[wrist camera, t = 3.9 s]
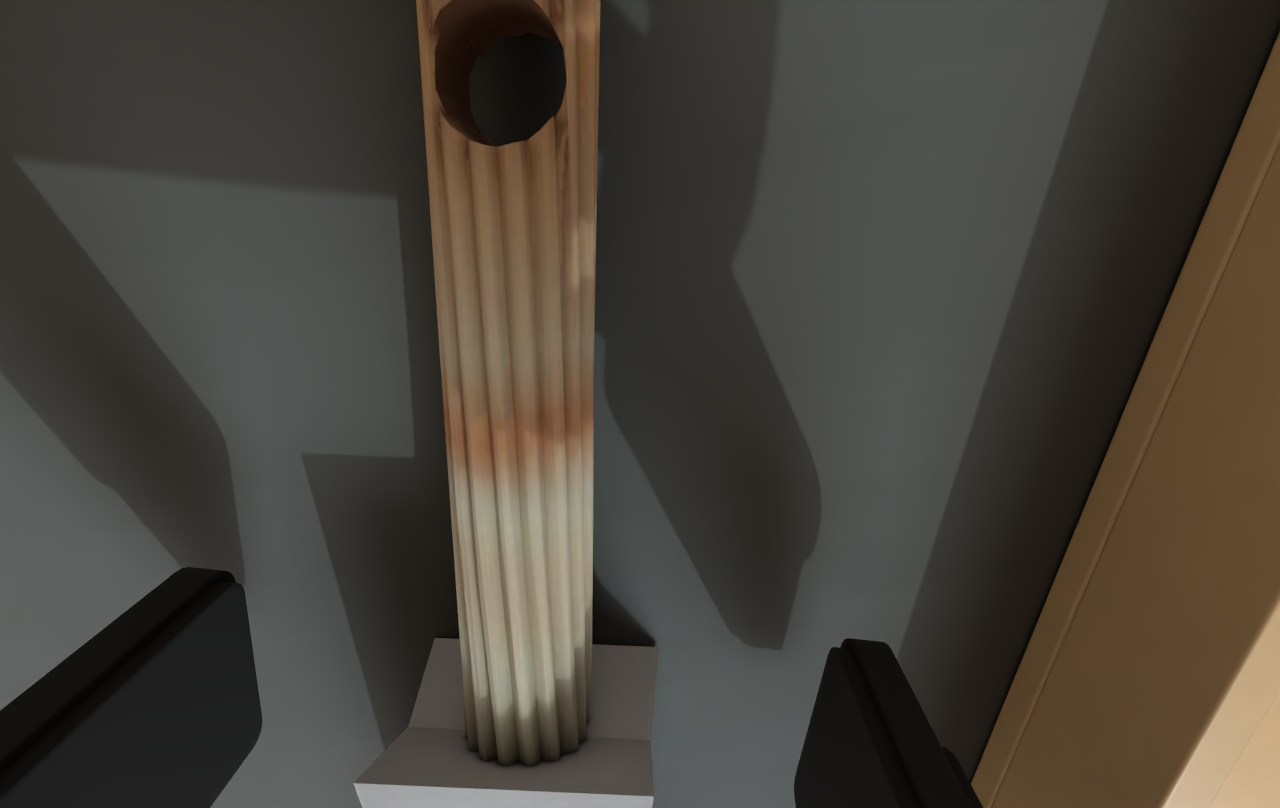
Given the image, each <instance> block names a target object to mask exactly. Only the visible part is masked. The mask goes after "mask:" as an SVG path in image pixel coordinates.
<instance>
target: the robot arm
mask: <svg viewBox="0 0 1280 808" xmlns="http://www.w3.org/2000/svg"><path fill="white" fill-rule="evenodd" d="M261 727H262V714H261V707H260V700H259V692H258V685H257V678H256V671H255V664H254V656H253V649H252V642H251V635H250V627H249V620H248V613H247V606H246V599H245V591H244V588H243V586H242V585H241V584H239V583H236V581H235V578H234V576H233V575H232V574H231V573H230V572H227V571H221V570H211V569H202V568H193V567H187V568H182V569H180V570H179V571H177V572H175V573H174V574H173V575H171V576H170V577H169V578H168V579H166V580H165V581H164V582H163V583H161V584H160V585H159V586H158V587H156V588H155V589H154V590H152V591H151V592H150V593H149V594H147V595H146V596H145V597H144V598H142V599H141V600H140V601H139V602H137V603H136V604H135V605H133V606H132V607H131V608H130V609H128V610H127V611H126V612H125V613H123V614H122V615H121V616H120V617H118V618H117V619H116V620H114V621H113V622H112V623H111V624H109V625H108V626H107V627H106V628H104V629H103V630H102V631H101V632H99V633H98V634H97V635H95V636H94V637H93V638H92V639H90V640H89V641H88V642H87V643H85V644H84V645H83V646H82V647H80V648H79V649H78V650H76V651H75V652H74V653H73V654H71V655H70V656H69V657H68V658H66V659H65V660H64V661H63V662H61V663H60V664H59V665H58V666H56V667H55V668H54V669H52V670H51V671H50V672H49V673H47V674H46V675H45V676H44V677H42V678H41V679H40V680H39V681H37V682H36V683H35V684H33V685H32V686H31V687H30V688H28V689H27V690H26V691H25V692H23V693H22V694H21V695H20V696H18V697H17V698H16V699H14V700H13V701H12V702H11V703H9V704H8V705H7V706H6V707H4V708H3V709H2V710H1V711H0V808H210V807H211V805H212V804H213V803H214V801H215V800H216V799H217V797H218V796H219V794H220V793H221V792H222V790H223V789H224V788H225V786H226V785H227V783H228V782H229V781H230V779H231V778H232V776H233V775H234V774H235V772H236V771H237V770H238V768H239V767H240V765H241V764H242V763H243V761H244V760H245V759H246V757H247V756H248V754H249V753H250V752H251V750H252V749H253V747H254V746H255V744H256V742H257V740H258V738H259V735H260V732H261ZM794 795H795V803H796V808H983V806H982V804H981V802H980V800H979V799H978V797H977V795H976V793H975V791H974V789H973V787H972V785H971V783H970V782H969V780H968V778H967V776H966V774H965V772H964V770H963V768H962V767H961V765H960V763H959V762H958V760H957V759H956V757H955V756H954V754H953V753H951V752H950V751H949V750H948V749H947V748H945V747H941V745H940V743H939V741H938V740H937V738H936V736H935V734H934V732H933V730H932V728H931V726H930V724H929V722H928V720H927V718H926V716H925V714H924V712H923V710H922V708H921V706H920V704H919V702H918V701H917V699H916V697H915V695H914V693H913V691H912V689H911V687H910V685H909V683H908V681H907V679H906V677H905V675H904V673H903V671H902V669H901V667H900V665H899V663H898V661H897V660H896V658H895V656H894V654H893V652H892V650H891V648H890V647H889V645H888V644H886V643H884V642H877V641H868V640H859V639H849V638H848V639H845V640H844V641H843V642H842V645H841V647H840V648H837V647H833V648H831V650H830V651H829V654H828V657H827V661H826V665H825V669H824V672H823V676H822V680H821V683H820V687H819V691H818V694H817V698H816V702H815V705H814V709H813V713H812V716H811V720H810V724H809V727H808V731H807V735H806V739H805V742H804V746H803V750H802V753H801V757H800V761H799V764H798V768H797V772H796V776H795V783H794Z"/></svg>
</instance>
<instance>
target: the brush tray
mask: <svg viewBox="0 0 1280 808" xmlns="http://www.w3.org/2000/svg"><path fill="white" fill-rule="evenodd" d="M971 785H972V787H973V789H974V791H975V793H976V795H977V797H978V799H979V800H980V802H981V804H982V806H983V808H1280V31H1279V34H1278V36H1277V39H1276V41H1275V44H1274V46H1273V48H1272V51H1271V53H1270V56H1269V58H1268V61H1267V63H1266V66H1265V68H1264V70H1263V73H1262V75H1261V78H1260V80H1259V83H1258V85H1257V87H1256V90H1255V92H1254V95H1253V97H1252V100H1251V102H1250V105H1249V107H1248V109H1247V112H1246V114H1245V117H1244V119H1243V122H1242V124H1241V126H1240V129H1239V131H1238V134H1237V136H1236V139H1235V141H1234V144H1233V146H1232V148H1231V151H1230V153H1229V156H1228V158H1227V161H1226V163H1225V166H1224V168H1223V170H1222V173H1221V175H1220V178H1219V180H1218V183H1217V185H1216V187H1215V190H1214V192H1213V195H1212V197H1211V200H1210V202H1209V205H1208V207H1207V209H1206V212H1205V214H1204V217H1203V219H1202V222H1201V224H1200V226H1199V229H1198V231H1197V234H1196V236H1195V239H1194V241H1193V244H1192V246H1191V248H1190V251H1189V253H1188V256H1187V258H1186V261H1185V263H1184V265H1183V268H1182V270H1181V273H1180V275H1179V278H1178V280H1177V283H1176V285H1175V287H1174V290H1173V292H1172V295H1171V297H1170V300H1169V302H1168V304H1167V307H1166V309H1165V312H1164V314H1163V317H1162V319H1161V322H1160V324H1159V326H1158V329H1157V331H1156V334H1155V336H1154V339H1153V341H1152V343H1151V346H1150V348H1149V351H1148V353H1147V356H1146V358H1145V361H1144V363H1143V365H1142V368H1141V370H1140V373H1139V375H1138V378H1137V380H1136V382H1135V385H1134V387H1133V390H1132V392H1131V395H1130V397H1129V400H1128V402H1127V404H1126V407H1125V409H1124V412H1123V414H1122V417H1121V419H1120V421H1119V424H1118V426H1117V429H1116V431H1115V434H1114V436H1113V439H1112V441H1111V443H1110V446H1109V448H1108V451H1107V453H1106V456H1105V458H1104V460H1103V463H1102V465H1101V468H1100V470H1099V473H1098V475H1097V478H1096V480H1095V482H1094V485H1093V487H1092V490H1091V492H1090V495H1089V497H1088V500H1087V502H1086V504H1085V507H1084V509H1083V512H1082V514H1081V517H1080V519H1079V521H1078V524H1077V526H1076V529H1075V531H1074V534H1073V536H1072V539H1071V541H1070V543H1069V546H1068V548H1067V551H1066V553H1065V556H1064V558H1063V560H1062V563H1061V565H1060V568H1059V570H1058V573H1057V575H1056V578H1055V580H1054V582H1053V585H1052V587H1051V590H1050V592H1049V595H1048V597H1047V599H1046V602H1045V604H1044V607H1043V609H1042V612H1041V614H1040V617H1039V619H1038V621H1037V624H1036V626H1035V629H1034V631H1033V634H1032V636H1031V638H1030V641H1029V643H1028V646H1027V648H1026V651H1025V653H1024V656H1023V658H1022V660H1021V663H1020V665H1019V668H1018V670H1017V673H1016V675H1015V677H1014V680H1013V682H1012V685H1011V687H1010V690H1009V692H1008V695H1007V697H1006V699H1005V702H1004V704H1003V707H1002V709H1001V712H1000V714H999V716H998V719H997V721H996V724H995V726H994V729H993V731H992V734H991V736H990V738H989V741H988V743H987V746H986V748H985V751H984V753H983V755H982V758H981V760H980V763H979V765H978V768H977V770H976V773H975V775H974V777H973V780H972V782H971Z"/></svg>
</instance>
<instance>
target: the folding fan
mask: <svg viewBox="0 0 1280 808" xmlns="http://www.w3.org/2000/svg"><path fill="white" fill-rule="evenodd" d="M416 5H417V20H418V35H419V50H420V65H421V80H422V95H423V110H424V125H425V140H426V155H427V170H428V185H429V200H430V215H431V231H432V246H433V261H434V276H435V291H436V306H437V321H438V335H439V349H440V364H441V378H442V392H443V407H444V421H445V435H446V450H447V464H448V478H449V493H450V507H451V521H452V536H453V550H454V564H455V579H456V593H457V607H458V622H459V635H460V639H448V638H435V639H434V642H433V646H432V649H431V652H430V656H429V659H428V662H427V666H426V669H425V672H424V675H423V679H422V682H421V685H420V689H419V692H418V695H417V699H416V702H415V705H414V709H413V712H412V715H411V719H410V722H409V725H408V727H407V728H406V729H405V730H404V731H403V732H402V733H401V734H400V736H399V737H398V738H397V739H396V740H395V741H394V742H393V743H392V744H391V745H390V746H389V747H388V748H387V749H386V750H385V751H384V752H383V753H382V754H381V755H380V756H379V757H378V758H377V759H376V760H375V761H374V762H373V764H372V765H371V766H370V767H369V768H368V769H367V770H366V771H365V772H364V773H363V774H362V775H361V776H360V777H359V778H358V779H357V780H356V781H355V782H354V786H355V789H356V791H357V794H358V797H359V800H360V803H361V805H362V808H652V805H653V798H654V792H653V775H652V759H651V742H650V739H651V727H652V715H653V703H654V691H655V679H656V667H657V655H658V647H645V646H621V645H596V644H592V599H593V408H594V328H595V272H596V217H597V162H598V107H599V51H600V0H416ZM528 32H531V33H534V34H537V35H539V36H542V37H545V38H547V39H554V40H555V41H556V42H557V43H558V44H559V45H560V46H562V47H563V51H564V59H565V68H566V77H567V83H566V88H565V93H564V98H563V103H562V105H561V107H560V109H559V111H558V113H557V115H556V117H555V119H554V116H553V117H552V118H551V119H549V120H548V121H547V123H546V124H545V125H544V126H543V127H542V129H541V130H539V131H538V132H537V133H536V134H534V135H533V136H532V137H531V138H529V139H528V140H527V141H519V142H514V143H510V144H507V145H502V146H498V147H497V146H496V145H495V144H494V143H493V142H492V141H491V140H490V139H489V138H488V137H487V136H486V135H485V134H484V133H483V132H482V131H481V130H479V129H478V127H477V124H476V122H475V120H474V118H473V115H472V113H471V110H470V97H469V84H468V78H469V75H470V73H471V70H472V67H473V65H474V62H475V60H476V57H477V54H478V55H479V56H483V55H484V54H486V53H487V51H488V50H489V49H490V48H491V47H492V46H493V44H494V43H495V42H496V41H498V40H499V39H500V38H502V37H503V36H519V35H522V34H525V33H528Z"/></svg>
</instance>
